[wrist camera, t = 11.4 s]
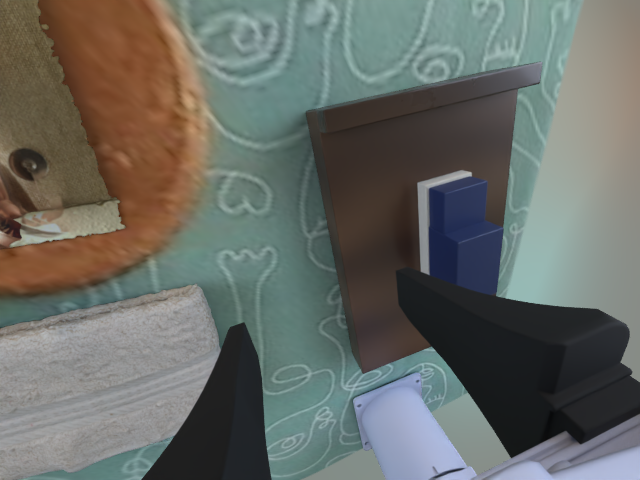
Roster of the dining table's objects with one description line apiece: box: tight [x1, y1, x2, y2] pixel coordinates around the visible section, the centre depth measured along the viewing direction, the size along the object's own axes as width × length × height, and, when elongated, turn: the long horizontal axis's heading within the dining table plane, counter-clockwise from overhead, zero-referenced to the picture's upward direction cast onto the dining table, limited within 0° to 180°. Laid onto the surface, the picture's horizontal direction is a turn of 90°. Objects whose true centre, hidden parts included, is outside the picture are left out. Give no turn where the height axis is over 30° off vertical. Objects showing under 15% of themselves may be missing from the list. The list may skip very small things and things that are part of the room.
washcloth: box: [0, 283, 221, 480], centre depth 20 cm, size 12×18×3 cm, turn 97°
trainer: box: [417, 170, 503, 295], centre depth 20 cm, size 8×4×4 cm, turn 12°
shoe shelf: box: [306, 62, 542, 374], centre depth 22 cm, size 22×14×4 cm, turn 12°
